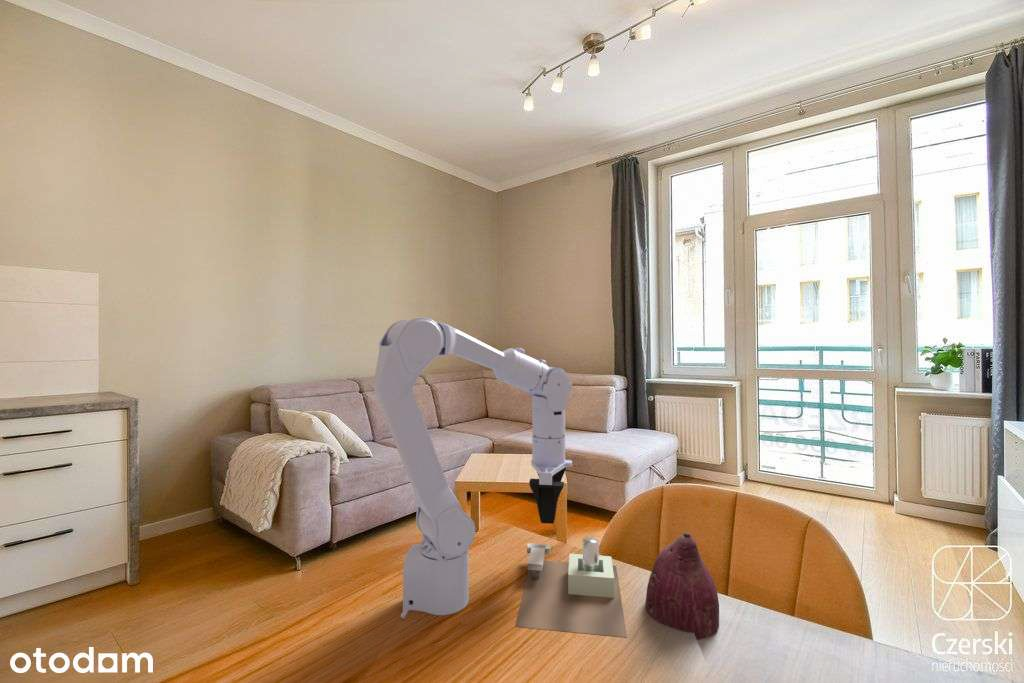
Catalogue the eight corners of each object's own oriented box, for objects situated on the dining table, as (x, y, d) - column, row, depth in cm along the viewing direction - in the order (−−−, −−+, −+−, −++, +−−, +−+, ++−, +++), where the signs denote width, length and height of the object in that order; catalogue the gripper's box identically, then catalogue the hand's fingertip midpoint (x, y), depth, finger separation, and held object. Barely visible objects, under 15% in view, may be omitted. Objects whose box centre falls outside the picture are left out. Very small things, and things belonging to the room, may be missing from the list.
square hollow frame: (568, 594, 68) (568, 574, 68) (569, 570, 75) (569, 553, 75) (614, 597, 67) (614, 578, 67) (611, 574, 74) (611, 556, 74)
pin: (583, 587, 70) (583, 543, 70) (581, 579, 72) (581, 536, 73) (600, 588, 70) (600, 544, 70) (597, 579, 72) (597, 537, 72)
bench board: (511, 633, 61) (511, 604, 61) (528, 564, 79) (528, 542, 79) (627, 645, 58) (626, 614, 58) (616, 571, 77) (615, 548, 77)
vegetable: (724, 665, 59) (749, 573, 55) (645, 644, 61) (662, 554, 57) (708, 602, 69) (728, 520, 65) (640, 586, 71) (655, 506, 67)
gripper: (570, 445, 69) (571, 532, 68) (572, 428, 83) (573, 500, 83) (526, 444, 70) (526, 530, 70) (535, 427, 84) (535, 498, 84)
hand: (549, 513), depth 76 cm, fingers open, 7 cm apart
